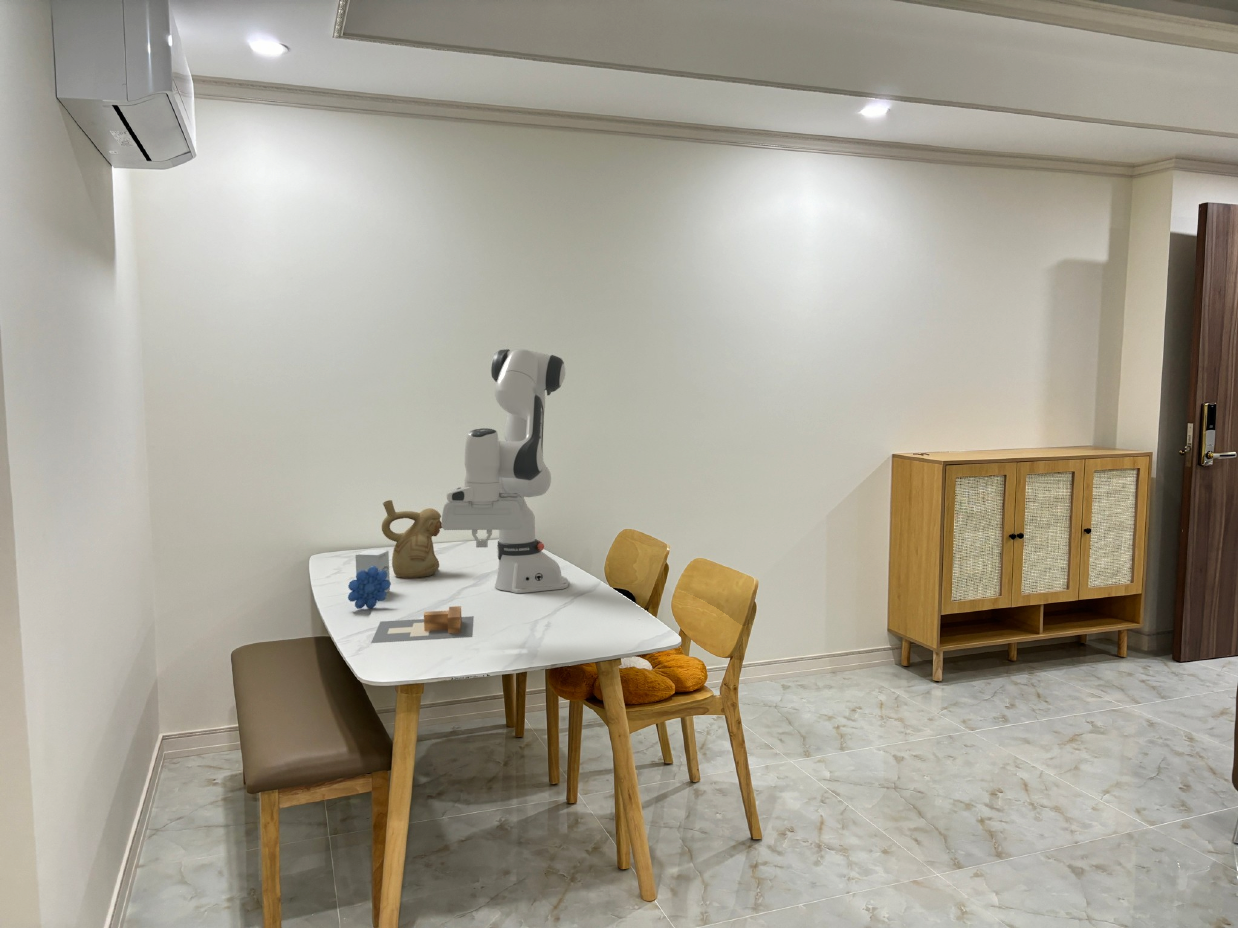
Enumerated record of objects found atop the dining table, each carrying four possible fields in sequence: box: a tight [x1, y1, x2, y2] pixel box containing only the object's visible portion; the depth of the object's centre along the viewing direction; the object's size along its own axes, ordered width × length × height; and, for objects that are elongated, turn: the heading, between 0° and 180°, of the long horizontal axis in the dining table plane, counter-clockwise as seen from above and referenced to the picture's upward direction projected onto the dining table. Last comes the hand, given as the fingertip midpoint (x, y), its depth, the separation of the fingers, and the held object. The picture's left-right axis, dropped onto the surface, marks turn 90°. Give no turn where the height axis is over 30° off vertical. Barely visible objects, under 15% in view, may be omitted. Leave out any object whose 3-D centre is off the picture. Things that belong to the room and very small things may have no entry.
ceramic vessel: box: [381, 499, 443, 579], centre depth 278 cm, size 17×20×25 cm
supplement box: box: [355, 549, 391, 593], centre depth 255 cm, size 7×7×13 cm
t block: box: [423, 605, 462, 633], centre depth 216 cm, size 9×10×4 cm
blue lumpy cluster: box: [347, 566, 392, 610], centre depth 239 cm, size 12×7×12 cm, turn 110°
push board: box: [370, 615, 474, 644], centre depth 216 cm, size 24×18×1 cm
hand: (481, 547), depth 217 cm, fingers closed
